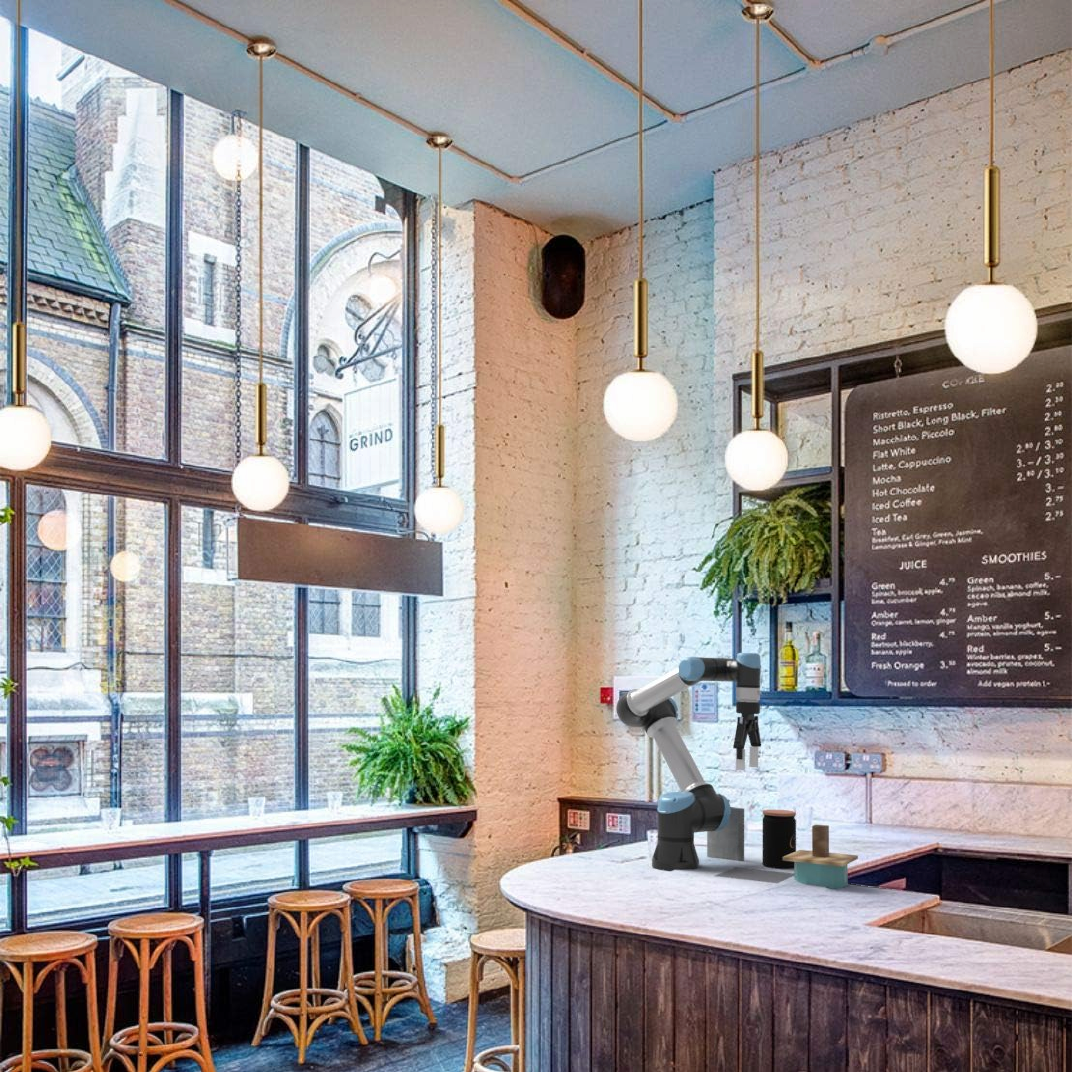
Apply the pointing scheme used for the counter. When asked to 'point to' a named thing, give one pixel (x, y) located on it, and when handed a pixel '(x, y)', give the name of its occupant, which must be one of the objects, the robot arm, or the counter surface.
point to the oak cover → (820, 850)
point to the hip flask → (728, 838)
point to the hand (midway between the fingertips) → (747, 768)
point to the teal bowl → (821, 874)
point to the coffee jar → (778, 838)
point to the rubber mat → (755, 875)
